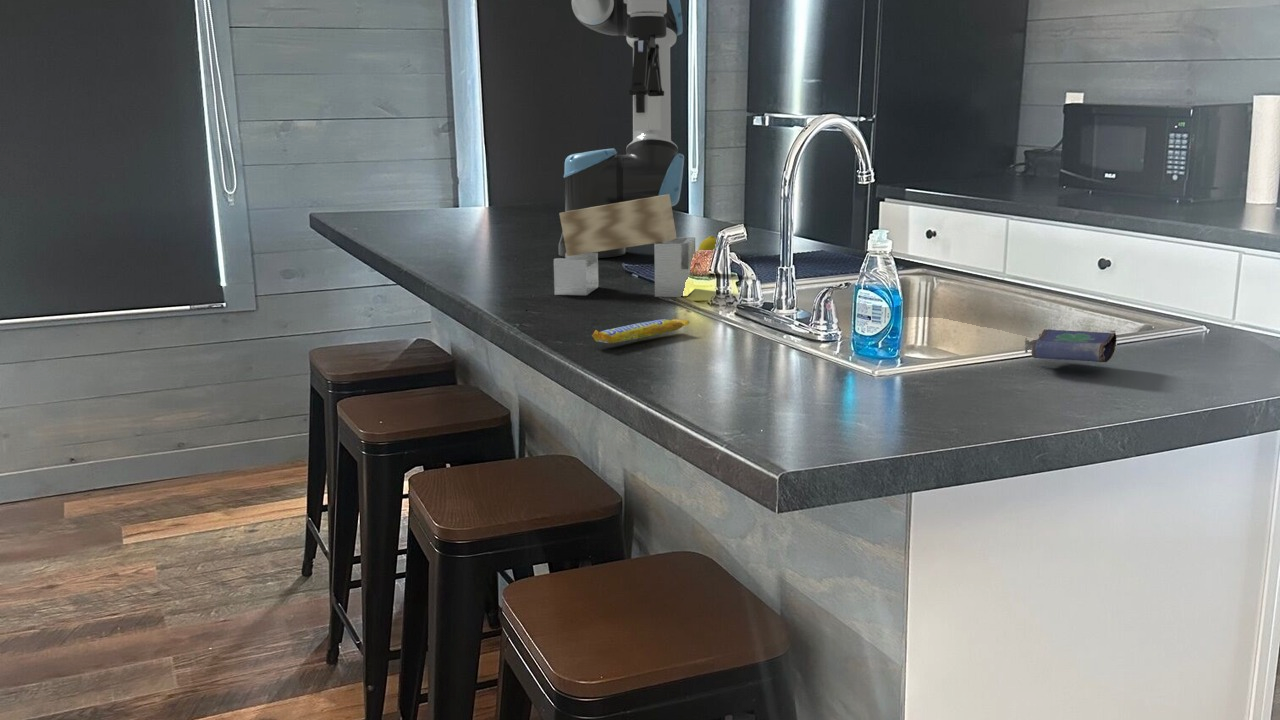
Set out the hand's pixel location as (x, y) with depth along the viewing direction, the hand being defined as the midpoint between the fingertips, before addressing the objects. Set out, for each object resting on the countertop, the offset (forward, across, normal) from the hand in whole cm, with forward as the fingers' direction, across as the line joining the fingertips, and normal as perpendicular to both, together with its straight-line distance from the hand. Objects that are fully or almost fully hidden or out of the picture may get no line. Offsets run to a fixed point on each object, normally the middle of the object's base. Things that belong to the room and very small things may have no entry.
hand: (647, 130), depth 214 cm
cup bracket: (+29, +18, +8) cm, 35 cm away
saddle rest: (+29, +18, -10) cm, 35 cm away
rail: (+20, +18, -2) cm, 28 cm away
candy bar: (+29, +56, +8) cm, 64 cm away
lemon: (+29, -4, +12) cm, 32 cm away
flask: (+30, +68, +72) cm, 103 cm away
